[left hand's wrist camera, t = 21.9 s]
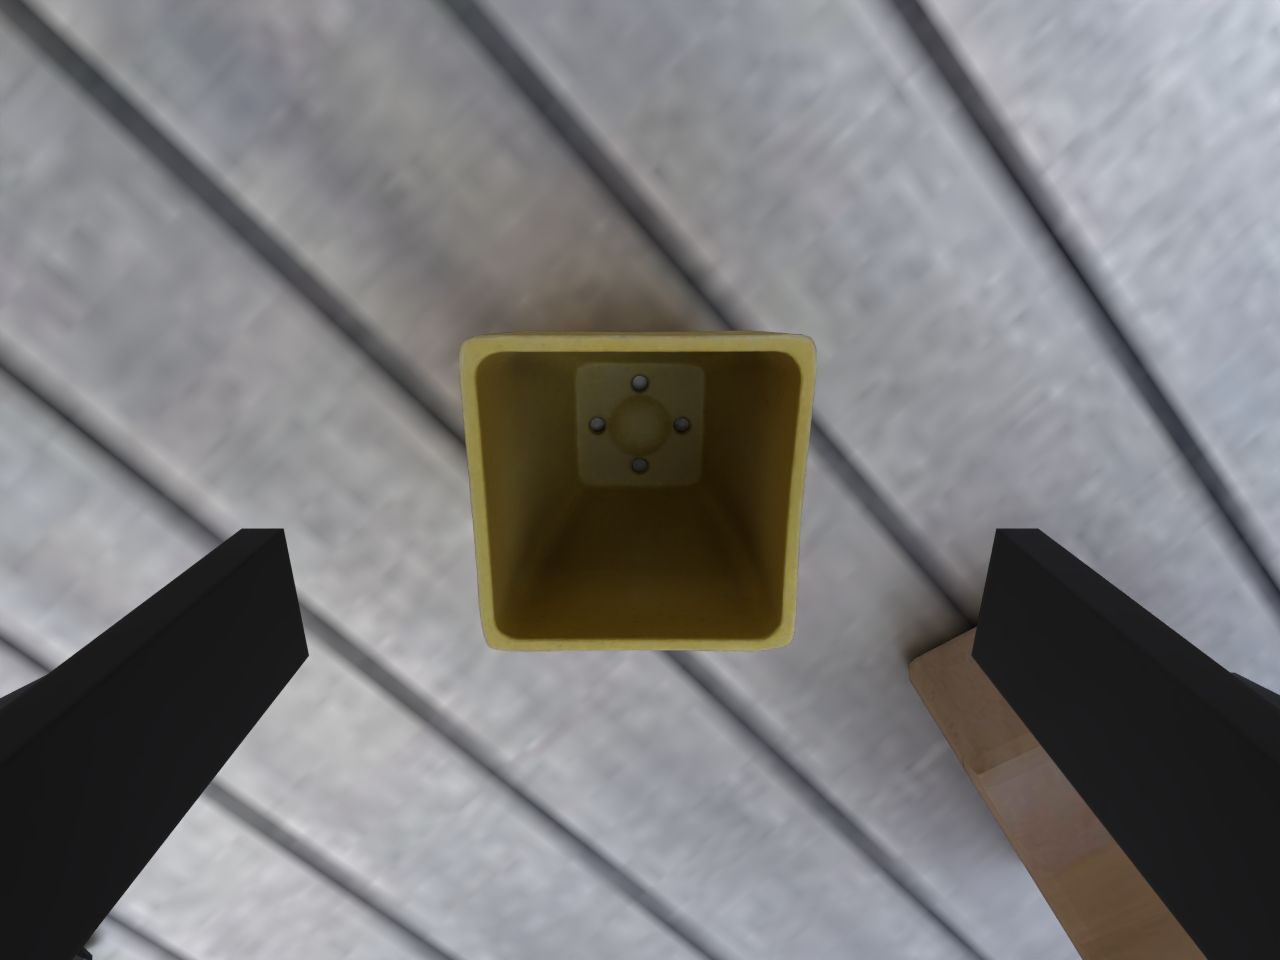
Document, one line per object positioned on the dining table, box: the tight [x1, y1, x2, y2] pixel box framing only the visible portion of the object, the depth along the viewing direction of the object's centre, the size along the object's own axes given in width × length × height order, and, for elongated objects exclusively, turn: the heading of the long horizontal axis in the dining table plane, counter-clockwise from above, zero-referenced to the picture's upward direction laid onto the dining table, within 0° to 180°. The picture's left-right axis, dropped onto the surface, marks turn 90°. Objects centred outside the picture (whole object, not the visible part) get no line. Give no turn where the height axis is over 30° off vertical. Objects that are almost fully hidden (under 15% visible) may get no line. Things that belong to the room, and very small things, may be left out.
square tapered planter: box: [459, 330, 817, 651], centre depth 22 cm, size 9×9×9 cm
